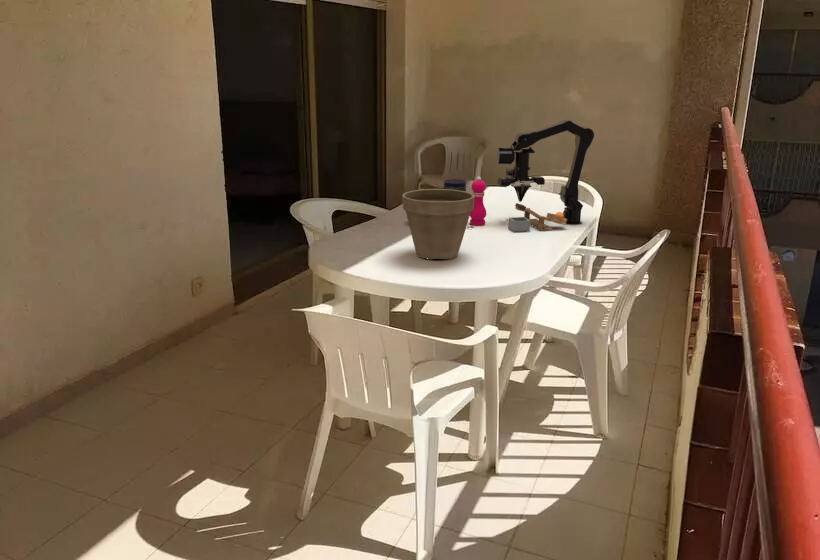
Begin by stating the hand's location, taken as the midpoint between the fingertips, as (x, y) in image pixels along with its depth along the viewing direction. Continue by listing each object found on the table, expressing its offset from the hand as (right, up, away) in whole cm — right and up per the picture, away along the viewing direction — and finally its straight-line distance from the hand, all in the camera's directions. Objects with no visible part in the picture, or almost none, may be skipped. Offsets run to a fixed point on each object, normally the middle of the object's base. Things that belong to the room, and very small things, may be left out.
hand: (520, 201), depth 277 cm
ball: (+15, -7, -6) cm, 18 cm away
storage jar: (-26, -4, +18) cm, 32 cm away
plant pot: (-36, -24, -41) cm, 60 cm away
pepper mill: (-18, -9, +2) cm, 20 cm away
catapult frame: (+7, -10, -1) cm, 12 cm away
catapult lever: (+8, -7, -3) cm, 10 cm away
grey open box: (-2, -13, -8) cm, 15 cm away
